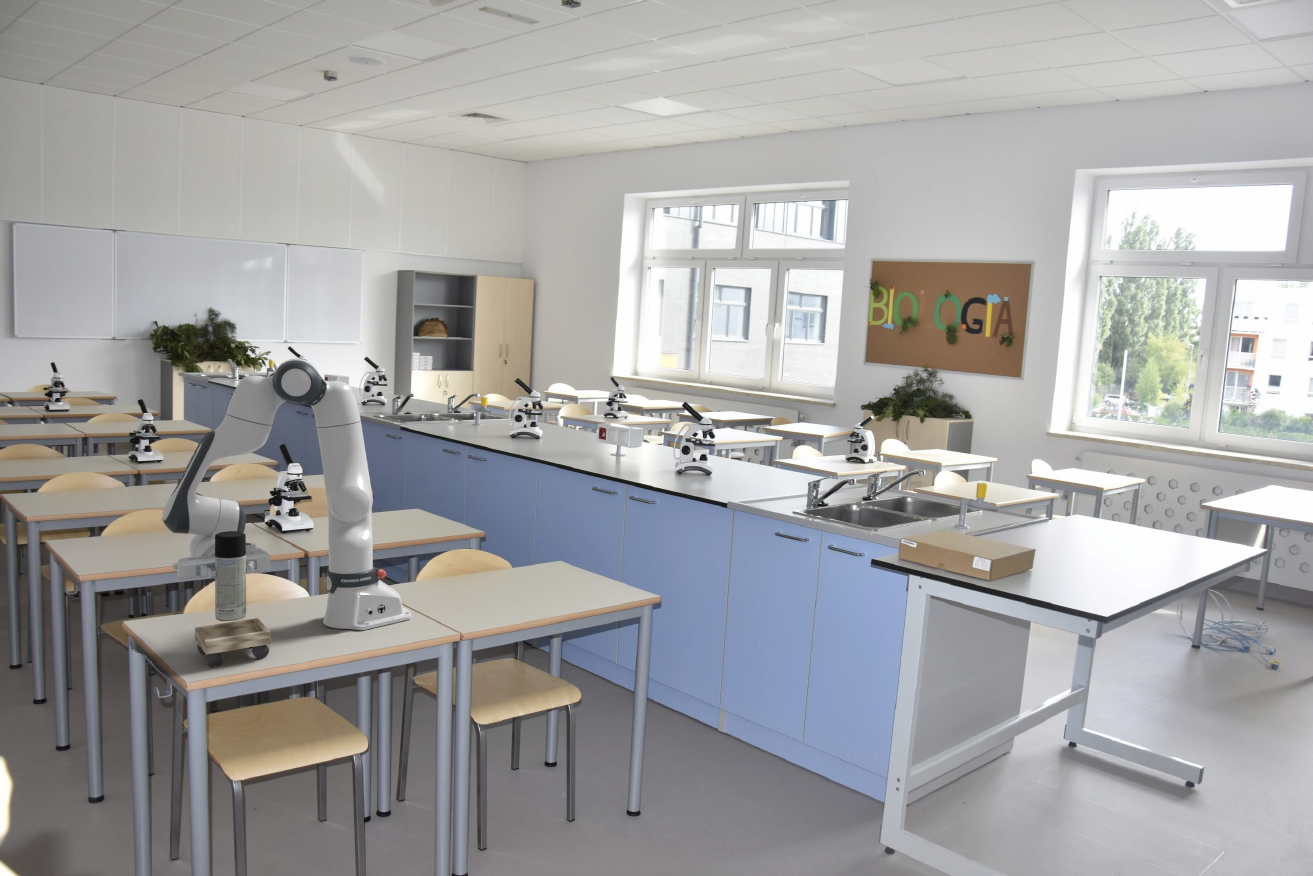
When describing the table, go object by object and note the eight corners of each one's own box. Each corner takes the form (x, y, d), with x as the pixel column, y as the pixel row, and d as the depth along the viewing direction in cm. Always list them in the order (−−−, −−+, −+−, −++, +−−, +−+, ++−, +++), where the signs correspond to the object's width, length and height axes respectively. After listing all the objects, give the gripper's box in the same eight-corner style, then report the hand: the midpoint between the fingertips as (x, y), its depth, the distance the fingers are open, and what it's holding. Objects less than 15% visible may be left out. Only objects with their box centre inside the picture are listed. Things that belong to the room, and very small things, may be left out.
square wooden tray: (258, 643, 232) (257, 618, 231) (271, 658, 223) (270, 631, 222) (195, 654, 224) (194, 627, 223) (206, 669, 214) (205, 641, 214)
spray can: (238, 611, 227) (236, 529, 225) (252, 617, 223) (251, 534, 220) (210, 617, 222) (208, 533, 219) (224, 623, 217) (222, 538, 215)
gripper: (170, 551, 225) (181, 563, 214) (261, 542, 237) (276, 554, 226) (171, 577, 225) (182, 591, 214) (261, 567, 238) (276, 579, 227)
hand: (231, 572), depth 220 cm, fingers closed on spray can, 7 cm apart
